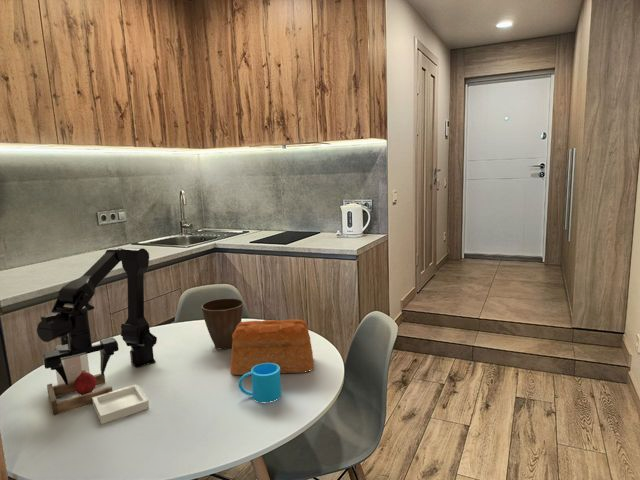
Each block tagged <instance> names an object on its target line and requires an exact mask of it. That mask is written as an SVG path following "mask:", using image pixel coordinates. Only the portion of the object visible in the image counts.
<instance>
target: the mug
mask: <svg viewBox="0 0 640 480" xmlns="http://www.w3.org/2000/svg"><path fill="white" fill-rule="evenodd" d="M248 376H251V389H252V391H248V390H246V389H245V388H244V387H243V384H242V383H243V380H245V378H247V377H248ZM281 383H282V381H281V373H280V367H279V366H278V365H277V364H274V363H262V364H258V365H256V366H254V367H253V368H252V369H251V372H248V373H246V374H244V375H242V376H241V377H240V378H239V380H238V384H237V385H238V388H239V390H240V392H242V393H243V394H245V395H247V396H250V397H251V396H252V400H256V401H258V402H270V401H274V400H276V399H278V398H279V397H280V396H282V385H281ZM280 398H281V397H280ZM280 398H279V399H280ZM279 399H278V400H279ZM256 401H255V402H256ZM276 401H277V400H276ZM258 402H257V403H258ZM274 402H275V401H274Z"/></svg>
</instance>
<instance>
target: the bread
mask: <svg viewBox="0 0 640 480" xmlns="http://www.w3.org/2000/svg"><path fill="white" fill-rule="evenodd" d="M232 337H233V341H232V348H231V357H230V370H229V371H230V372H231V373H232V374H231V373H230V374H231V375H232V376H236V375H237V376H238V375H242V376H243V375H244V374H246V373H248V372H251V369H252V368H253V367H254V366H256V365H258V364H262V363H274V364H277V365H278V366H279V367H280V374H289V373H290V374H291V373H294V374H295V373H306V372H305V371H309V370H311V369H312V368H313V369H314V354H313V349H312V348H313V347H312V343H311V336H310V332H309V326H308V323H307V322H306V320H303V319H299V318H298V319H284V320H282V319H281V320H277V319H264V320H250V321H248V320H247V321H241V322H240V323H239V324H238V325H237V327H236V330H235V331H234V333H233V334H232ZM313 369H312V370H313ZM312 370H311V371H312Z"/></svg>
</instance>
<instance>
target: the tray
mask: <svg viewBox="0 0 640 480" xmlns="http://www.w3.org/2000/svg"><path fill="white" fill-rule="evenodd" d="M92 401H93V404H92V407H93V409H94V410H95V413H96V416H97V417H98V420H99V422H100V425H103V424H106V423H109V422H112V421H115V420H117V419H121V418H124V417H127V416H129V415H132V414H136V413H139V412H141V411H144V410H147V409H150V405H149V403H150V402H149V399H148V397H147V396H146V395H145V393H144V392H143V391H142V390H141V388H140V387H139V385H138V384H133V385H128V386H126V387H122V388H119V389H116V390H113V391H112V392H109V393H105V394H102V395H99V396H95V397H92Z"/></svg>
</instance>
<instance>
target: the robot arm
mask: <svg viewBox="0 0 640 480" xmlns="http://www.w3.org/2000/svg"><path fill="white" fill-rule="evenodd" d="M120 262H121V267H122V268H123V270H124V272H125V274H126V276H127V277H126V278H127V279H126V280H127V319H126V320H125V323H121V325H120V328H121V331H120V336H121V338H122V341H124V342H125V345H126V347H130V349H131V350H130V351H129V358H130V362H131V364H132V365H133V366H134V367H135V368H139V367H143V366H146V365H151V364H154V363H156V360H155V358H154V347H155V345H156V344H157V342H158V341H157V340H158V338H157V336H155V335H154V334H153V333H152V332H151V330H150V324H149V322H148V321H147V319H146V317H145V295H144V294H145V289H144V288H145V285H144V284H145V283H144V282H145V280H144V278H145V276H144V275H145V273H146V271H147V269H148V267H149V264H150V263H149V262H150V253H149V251H148V250H147V249H146V248H143V247H142V248H140V247H138V248H137V247H126V248H120V247H110V248H107V249H106V251H105V252H104V254H103V255H102V256H101V257H100V258H99V259H98V260H97V261H95V263H94V264H92V266H90V268H89V269H88V270H86V271H85V273H84V274H83V275H81V276H79V278H76V279H74V280H71V281H70V282H68V283H67V284H65V285H64V286H62V287H61V288H60V289H59V291H58V296H57V298H56V301H55V302H54V305H53V307H52V309H51V313H50V314H46V315H43V316H40V322H39V323H38V324H37V326H36V327H37V328H36V333H37V336H38V338H39V339H40V340H41V341H43V342H44V343H49V342H52V341H54V340H56V339H59V338H60V339H59V340H60V344H61V345H66V344H68V349H70V351H68V352H63V353H59V351H58V350H55V349H54V350H51V351H46V352H44V353H43V354H42V361H43V366H44V368H45V369H48V370H49V369H50V370H51V371H55V372H56V371H57V372H58V373H59V374H60V375H61V377H62V379H63V380H64V382H65V384H66V385H68V380H67V377H66V374H65V370H64V367H63V364H62V362H61V360H64V359H68V358H72V357H76V356H80V355H84V354H87V355H88V354H91V353H95V352H99V355H100V374H101V375H103V374H104V375H105V371H106V369H107V365H108V363H109V360H110V358H111V356H113V355H115V352H118V351H119V344H118V341H117V340H116V338H114V337H111V336H110V337H107V338H104V339H100V340H99V343H98V344H93V342H92V333H91V326H90V316H89V311H92V310H94V309H95V306H93V305H91V304H90V303H89V302H90V301H91V300H92V298H93V297H94V295H95V292H96V288H97V286H98V285H99V284H100V283H101V282H102V281H103V280H104V279H105V278H106V277H107V276H108V275H109V274H110V273H111V271H112V270H113V269H114V268H115V267H117V265H118V264H119V263H120Z"/></svg>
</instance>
